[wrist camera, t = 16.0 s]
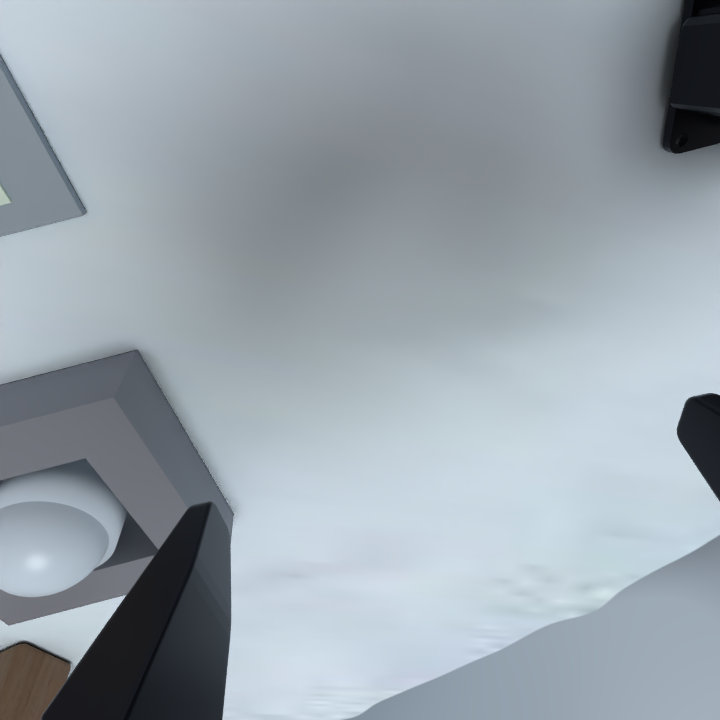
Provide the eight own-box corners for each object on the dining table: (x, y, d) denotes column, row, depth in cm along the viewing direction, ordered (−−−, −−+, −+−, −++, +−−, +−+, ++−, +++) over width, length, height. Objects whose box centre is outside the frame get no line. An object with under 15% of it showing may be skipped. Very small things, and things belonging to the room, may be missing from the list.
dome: (98, 433, 21) (51, 529, 17) (153, 507, 24) (125, 604, 20) (-18, 463, 21) (-96, 567, 17) (52, 533, 24) (2, 636, 20)
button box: (137, 349, 20) (113, 397, 17) (233, 513, 27) (227, 568, 24) (-124, 417, 20) (-192, 476, 17) (37, 565, 27) (8, 625, 24)
